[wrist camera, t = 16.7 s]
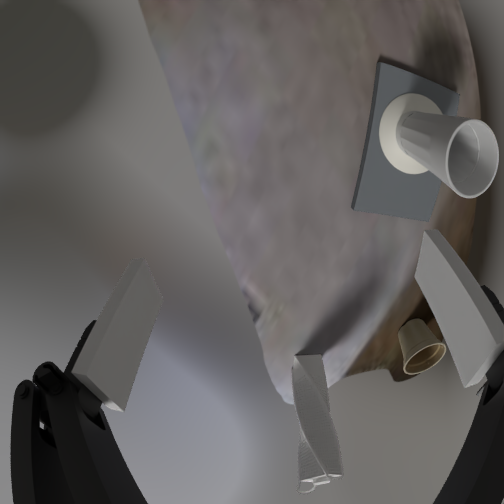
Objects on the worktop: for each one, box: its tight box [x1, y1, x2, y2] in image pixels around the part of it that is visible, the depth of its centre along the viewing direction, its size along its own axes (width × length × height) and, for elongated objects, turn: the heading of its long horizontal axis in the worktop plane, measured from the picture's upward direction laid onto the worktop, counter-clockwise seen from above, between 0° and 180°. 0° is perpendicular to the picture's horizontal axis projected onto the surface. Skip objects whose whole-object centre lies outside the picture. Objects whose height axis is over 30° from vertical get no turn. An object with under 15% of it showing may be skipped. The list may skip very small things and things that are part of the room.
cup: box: [396, 111, 499, 198], centre depth 24 cm, size 8×8×12 cm
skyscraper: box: [292, 354, 344, 494], centre depth 43 cm, size 8×8×28 cm
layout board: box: [351, 62, 460, 222], centre depth 31 cm, size 20×13×1 cm, turn 175°
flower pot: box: [398, 319, 446, 374], centre depth 47 cm, size 9×9×9 cm
